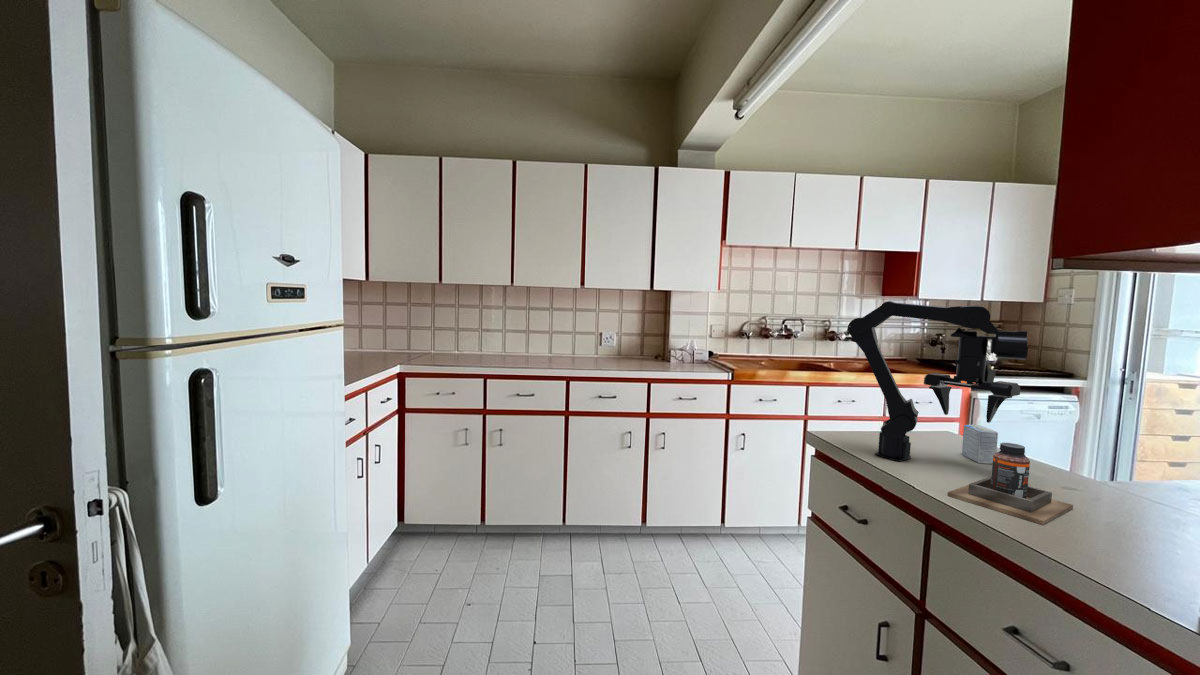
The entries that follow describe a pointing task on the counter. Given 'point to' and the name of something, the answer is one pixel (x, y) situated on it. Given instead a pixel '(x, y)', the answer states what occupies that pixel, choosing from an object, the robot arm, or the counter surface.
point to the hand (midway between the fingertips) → (966, 418)
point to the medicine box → (979, 443)
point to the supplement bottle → (1010, 470)
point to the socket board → (1013, 501)
